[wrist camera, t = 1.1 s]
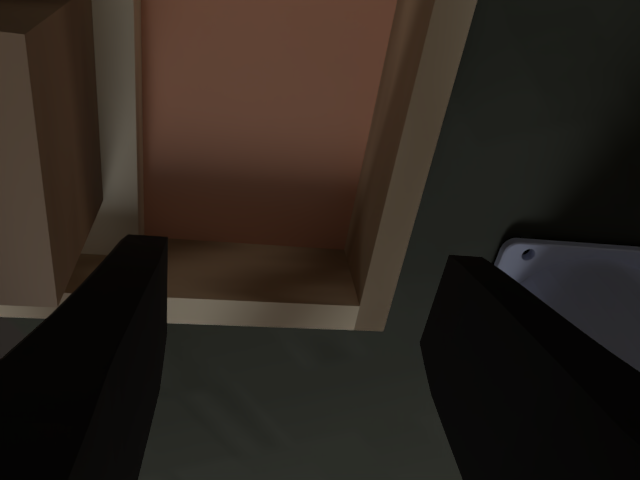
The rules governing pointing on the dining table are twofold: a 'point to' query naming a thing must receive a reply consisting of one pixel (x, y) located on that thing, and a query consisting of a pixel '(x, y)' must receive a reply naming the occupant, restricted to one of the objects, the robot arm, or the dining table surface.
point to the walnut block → (46, 146)
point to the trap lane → (269, 150)
